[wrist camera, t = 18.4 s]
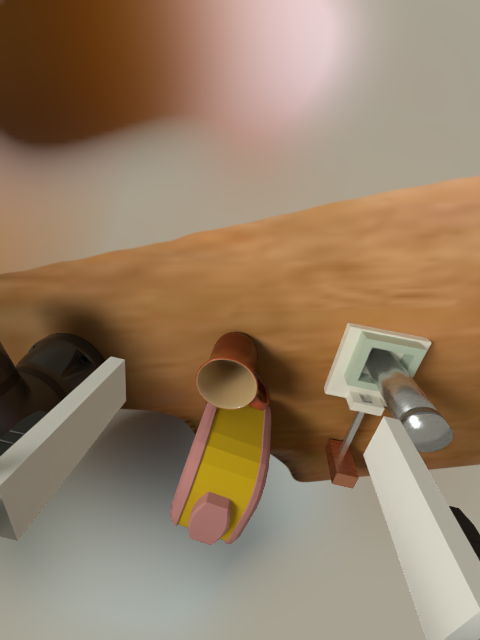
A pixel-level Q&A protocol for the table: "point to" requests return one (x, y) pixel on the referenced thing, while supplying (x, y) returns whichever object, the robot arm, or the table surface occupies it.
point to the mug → (232, 375)
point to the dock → (351, 357)
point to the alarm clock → (223, 473)
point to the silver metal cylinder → (408, 402)
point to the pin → (344, 454)
